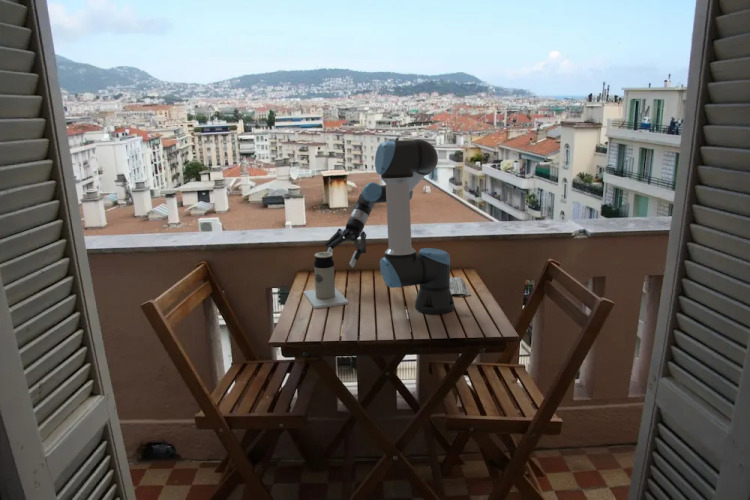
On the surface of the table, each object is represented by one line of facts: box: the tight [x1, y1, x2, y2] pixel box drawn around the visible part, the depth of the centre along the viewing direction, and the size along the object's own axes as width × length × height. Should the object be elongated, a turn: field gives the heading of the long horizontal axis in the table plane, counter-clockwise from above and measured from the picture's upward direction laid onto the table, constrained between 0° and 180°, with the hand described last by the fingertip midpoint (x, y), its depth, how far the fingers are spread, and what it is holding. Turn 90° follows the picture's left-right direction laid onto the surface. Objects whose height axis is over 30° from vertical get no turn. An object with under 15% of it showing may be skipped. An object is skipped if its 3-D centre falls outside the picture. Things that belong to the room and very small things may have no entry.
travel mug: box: [313, 251, 336, 299], centre depth 227 cm, size 8×8×18 cm
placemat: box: [303, 286, 349, 310], centre depth 229 cm, size 20×14×1 cm
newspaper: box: [450, 276, 471, 298], centre depth 239 cm, size 23×12×2 cm, turn 176°
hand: (338, 263), depth 234 cm, fingers open, 13 cm apart
